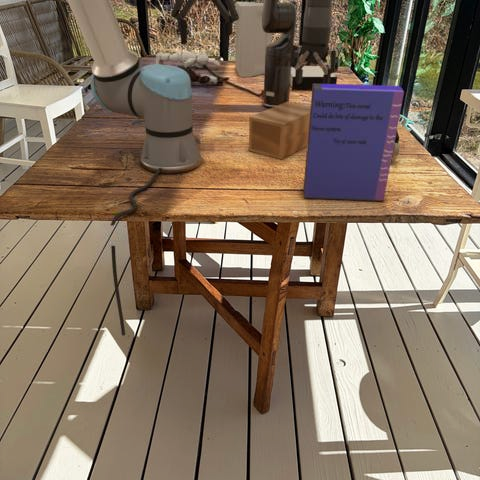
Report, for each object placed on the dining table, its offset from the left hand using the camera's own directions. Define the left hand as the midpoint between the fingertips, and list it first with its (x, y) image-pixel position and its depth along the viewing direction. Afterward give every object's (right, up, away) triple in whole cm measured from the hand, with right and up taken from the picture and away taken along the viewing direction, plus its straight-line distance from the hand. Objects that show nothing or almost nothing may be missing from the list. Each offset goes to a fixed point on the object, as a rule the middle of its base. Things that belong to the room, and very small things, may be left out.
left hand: (205, 45), depth 142 cm
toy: (-14, +23, +83) cm, 87 cm away
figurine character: (+49, -35, -12) cm, 61 cm away
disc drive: (+40, +8, +59) cm, 71 cm away
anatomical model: (+42, +21, +81) cm, 94 cm away
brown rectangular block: (+23, -31, -6) cm, 39 cm away
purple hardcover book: (+34, -48, -34) cm, 68 cm away
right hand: (+31, -13, -4) cm, 34 cm away
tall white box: (+17, +19, +76) cm, 80 cm away
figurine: (-9, +6, +53) cm, 55 cm away
